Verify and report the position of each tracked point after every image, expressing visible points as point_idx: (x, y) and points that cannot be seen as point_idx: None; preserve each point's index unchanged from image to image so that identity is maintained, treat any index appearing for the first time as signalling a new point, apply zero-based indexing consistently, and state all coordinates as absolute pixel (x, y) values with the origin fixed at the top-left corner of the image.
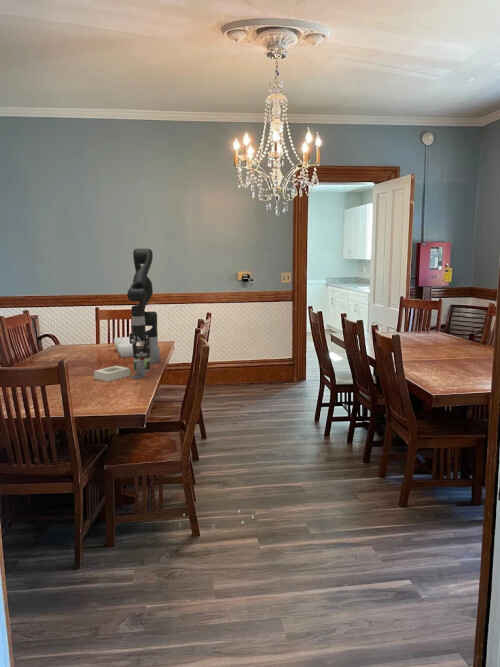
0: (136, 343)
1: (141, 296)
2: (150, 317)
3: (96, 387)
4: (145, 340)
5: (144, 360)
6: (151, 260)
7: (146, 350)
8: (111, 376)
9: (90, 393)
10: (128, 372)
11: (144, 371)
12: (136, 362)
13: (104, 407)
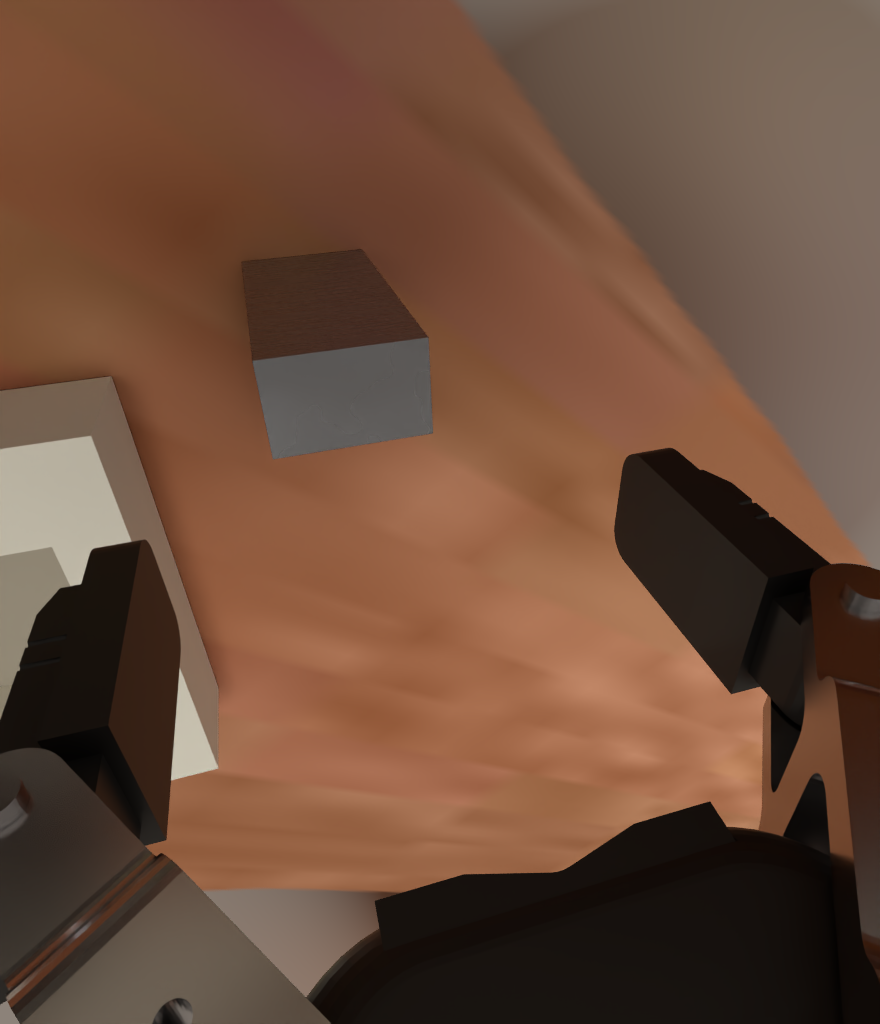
0: (82, 783)
1: None
2: None
3: (351, 789)
4: None
5: None
6: None
7: (741, 504)
8: (201, 684)
9: (470, 835)
10: (114, 436)
11: (381, 278)
12: (280, 449)
13: (757, 817)
